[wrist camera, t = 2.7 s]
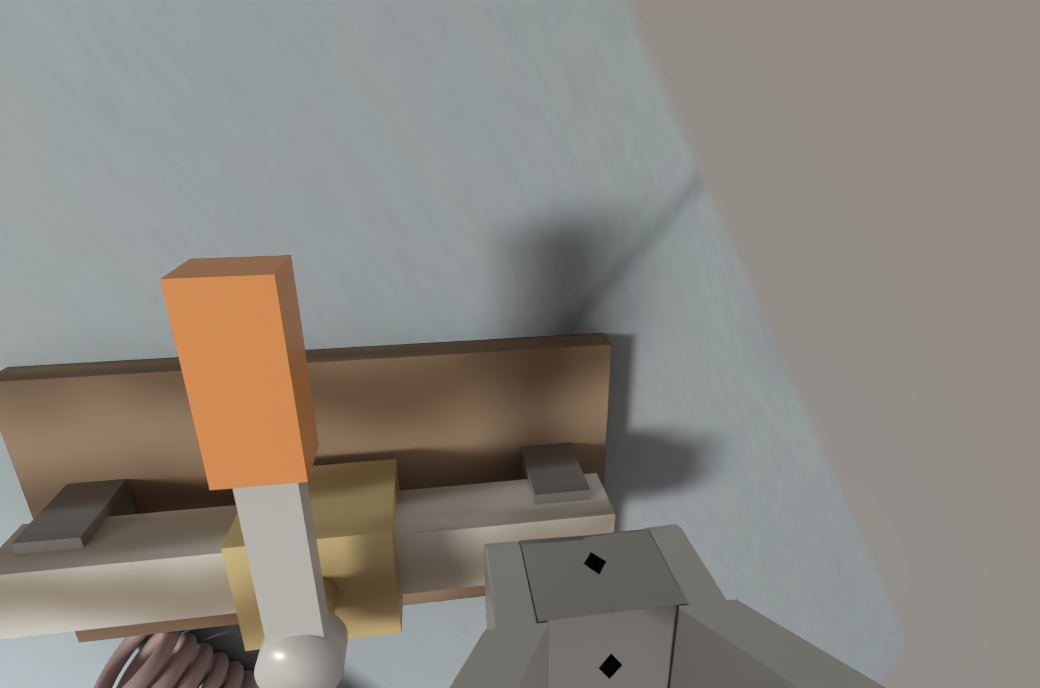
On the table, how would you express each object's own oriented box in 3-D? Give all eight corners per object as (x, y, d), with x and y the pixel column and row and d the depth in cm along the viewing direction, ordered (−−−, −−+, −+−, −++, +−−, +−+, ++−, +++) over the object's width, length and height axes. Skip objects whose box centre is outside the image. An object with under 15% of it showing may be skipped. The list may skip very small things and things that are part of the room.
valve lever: (185, 258, 16) (155, 279, 14) (294, 255, 17) (278, 274, 15) (273, 664, 22) (259, 716, 20) (353, 654, 22) (346, 704, 20)
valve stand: (6, 367, 26) (-202, 500, 17) (602, 333, 29) (676, 429, 21) (94, 618, 31) (-32, 815, 22) (591, 563, 34) (646, 716, 26)
